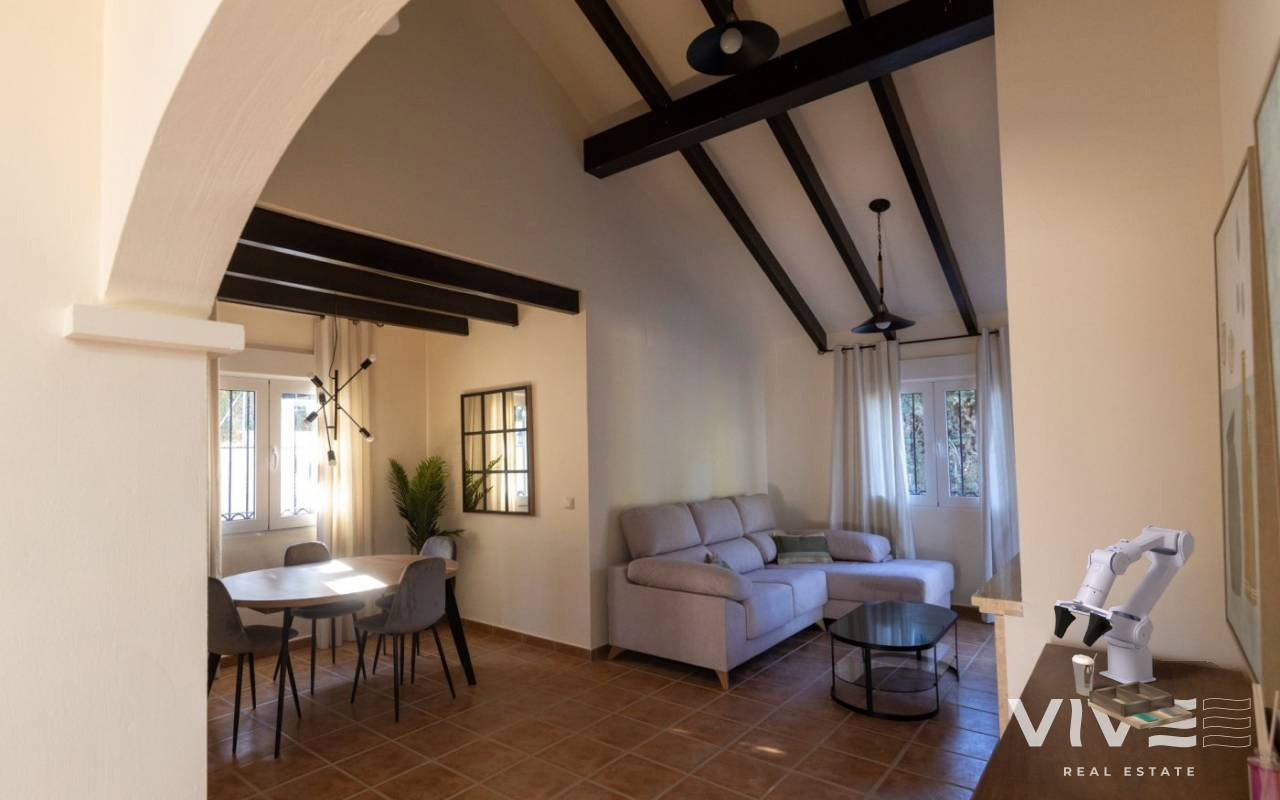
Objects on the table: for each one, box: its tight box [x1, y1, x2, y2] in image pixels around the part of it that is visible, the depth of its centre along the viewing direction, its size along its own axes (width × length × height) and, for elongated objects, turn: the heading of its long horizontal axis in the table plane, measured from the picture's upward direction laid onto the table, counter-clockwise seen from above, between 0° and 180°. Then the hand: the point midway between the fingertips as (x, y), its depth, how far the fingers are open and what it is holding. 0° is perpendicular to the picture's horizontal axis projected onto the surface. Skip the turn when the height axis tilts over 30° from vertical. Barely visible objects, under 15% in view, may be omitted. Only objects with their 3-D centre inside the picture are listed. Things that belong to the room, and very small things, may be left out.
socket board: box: [1087, 681, 1194, 730], centre depth 151 cm, size 16×12×4 cm
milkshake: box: [1071, 652, 1098, 697], centre depth 161 cm, size 5×5×10 cm
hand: (1071, 640), depth 161 cm, fingers open, 7 cm apart
